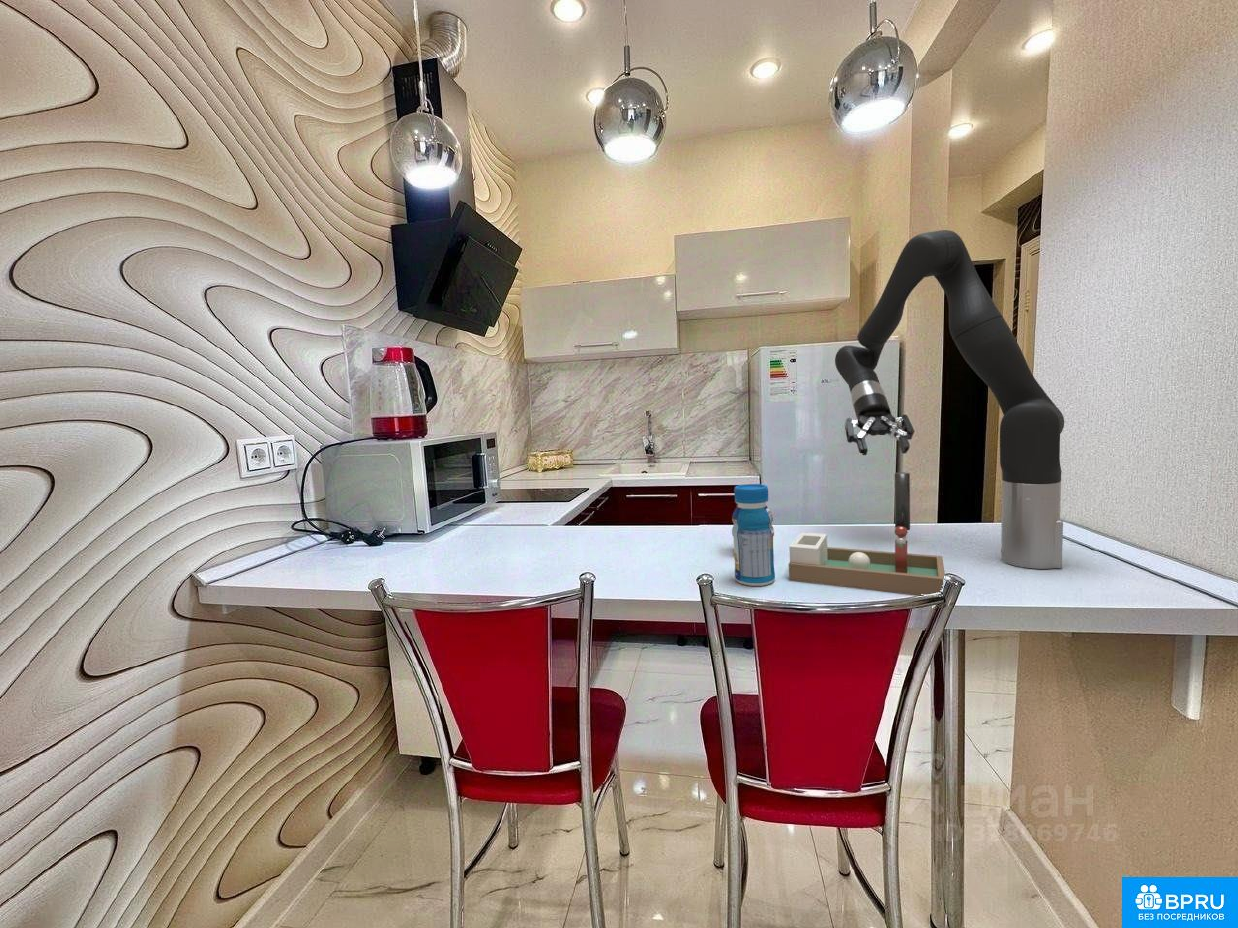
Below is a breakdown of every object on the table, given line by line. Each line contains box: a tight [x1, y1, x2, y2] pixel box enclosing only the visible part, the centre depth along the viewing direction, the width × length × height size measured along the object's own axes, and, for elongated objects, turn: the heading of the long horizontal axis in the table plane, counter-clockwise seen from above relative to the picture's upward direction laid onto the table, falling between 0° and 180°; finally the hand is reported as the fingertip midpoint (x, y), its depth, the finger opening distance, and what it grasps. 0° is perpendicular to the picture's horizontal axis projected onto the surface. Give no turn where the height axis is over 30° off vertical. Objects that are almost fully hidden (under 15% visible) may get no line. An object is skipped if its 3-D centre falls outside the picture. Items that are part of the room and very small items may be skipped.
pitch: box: [788, 532, 946, 596], centre depth 100 cm, size 27×14×7 cm, turn 59°
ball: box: [849, 552, 870, 570], centre depth 101 cm, size 4×4×4 cm
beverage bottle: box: [731, 483, 776, 587], centre depth 102 cm, size 8×8×20 cm
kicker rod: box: [894, 472, 911, 573], centre depth 100 cm, size 3×13×19 cm, turn 148°
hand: (885, 452), depth 114 cm, fingers open, 8 cm apart
